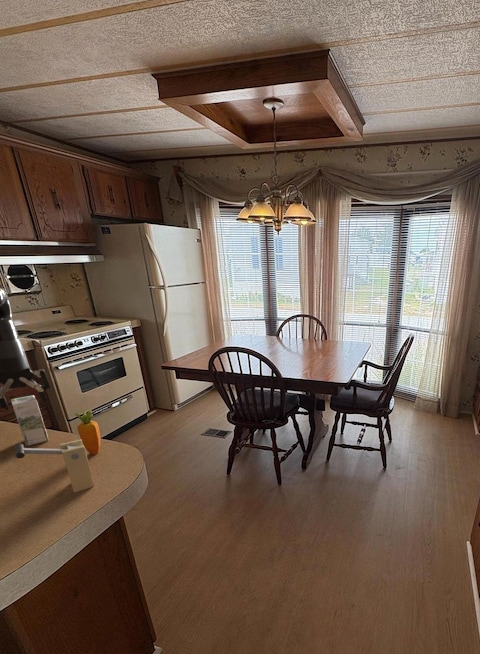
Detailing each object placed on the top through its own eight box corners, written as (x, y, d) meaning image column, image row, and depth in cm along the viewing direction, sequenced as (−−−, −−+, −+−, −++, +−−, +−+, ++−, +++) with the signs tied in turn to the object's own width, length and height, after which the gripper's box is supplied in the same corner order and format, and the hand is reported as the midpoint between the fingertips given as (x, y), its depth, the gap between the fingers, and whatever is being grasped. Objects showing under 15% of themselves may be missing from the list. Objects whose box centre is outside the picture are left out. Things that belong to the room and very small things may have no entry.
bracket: (67, 501, 83) (52, 456, 78) (63, 487, 88) (50, 444, 83) (104, 489, 88) (93, 446, 83) (99, 476, 93) (88, 435, 88)
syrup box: (46, 434, 113) (33, 394, 107) (49, 441, 109) (36, 399, 104) (24, 440, 109) (9, 398, 104) (26, 447, 105) (11, 404, 100)
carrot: (81, 460, 100) (68, 413, 94) (94, 451, 105) (83, 406, 99) (96, 462, 99) (84, 415, 94) (109, 453, 104) (98, 408, 98)
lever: (14, 460, 75) (16, 450, 74) (14, 451, 78) (16, 441, 78) (81, 460, 83) (83, 451, 83) (78, 452, 87) (80, 443, 87)
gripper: (38, 348, 105) (53, 396, 111) (-26, 355, 96) (-6, 407, 103) (40, 353, 100) (55, 404, 106) (-28, 361, 91) (-7, 415, 97)
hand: (25, 405), depth 104 cm, fingers open, 8 cm apart
